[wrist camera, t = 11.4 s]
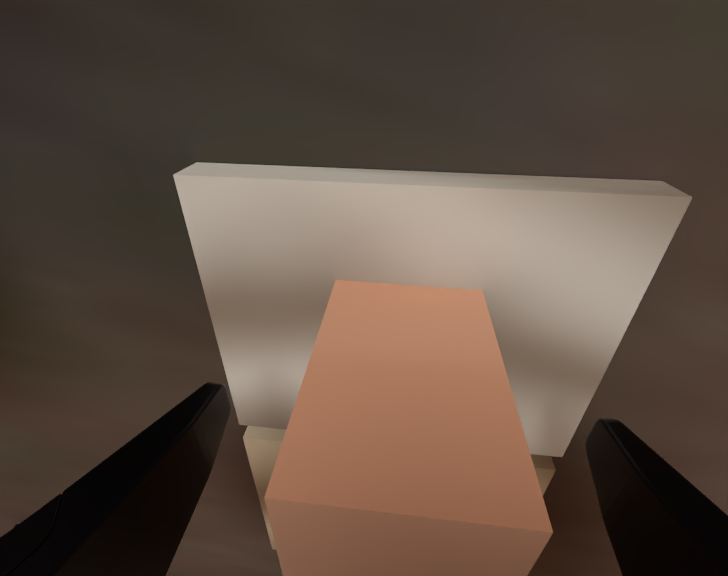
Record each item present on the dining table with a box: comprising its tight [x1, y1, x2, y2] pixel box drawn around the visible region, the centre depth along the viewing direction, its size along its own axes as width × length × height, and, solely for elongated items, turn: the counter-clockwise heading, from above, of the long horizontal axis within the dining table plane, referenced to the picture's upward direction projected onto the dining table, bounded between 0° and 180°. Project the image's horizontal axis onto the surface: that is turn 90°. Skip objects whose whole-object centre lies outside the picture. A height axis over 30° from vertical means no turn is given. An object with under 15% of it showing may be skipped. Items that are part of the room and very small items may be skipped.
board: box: [173, 162, 692, 550], centre depth 15 cm, size 20×12×1 cm, turn 179°
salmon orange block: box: [264, 280, 553, 576], centre depth 9 cm, size 4×4×6 cm
